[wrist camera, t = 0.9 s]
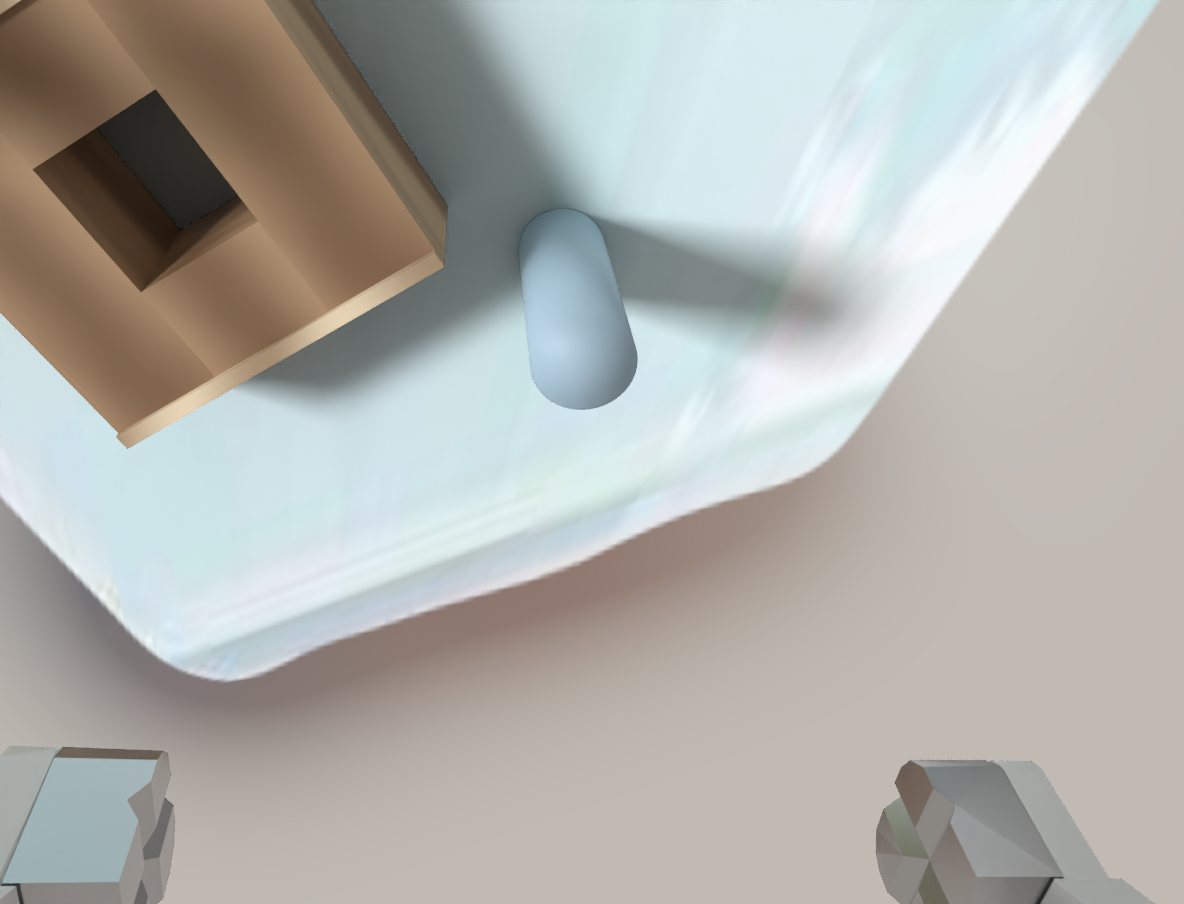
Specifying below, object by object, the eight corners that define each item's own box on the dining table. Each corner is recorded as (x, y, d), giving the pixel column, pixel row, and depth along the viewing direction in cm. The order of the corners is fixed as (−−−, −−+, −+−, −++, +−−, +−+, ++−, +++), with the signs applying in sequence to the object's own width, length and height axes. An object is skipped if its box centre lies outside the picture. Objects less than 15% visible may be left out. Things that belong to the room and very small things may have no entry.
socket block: (215, -147, 35) (169, -134, 29) (447, 206, 42) (444, 267, 37) (-102, 73, 37) (-196, 121, 32) (168, 369, 44) (127, 448, 39)
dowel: (578, 192, 42) (605, 294, 34) (620, 264, 44) (655, 378, 36) (502, 236, 43) (509, 347, 34) (546, 305, 45) (563, 426, 36)
